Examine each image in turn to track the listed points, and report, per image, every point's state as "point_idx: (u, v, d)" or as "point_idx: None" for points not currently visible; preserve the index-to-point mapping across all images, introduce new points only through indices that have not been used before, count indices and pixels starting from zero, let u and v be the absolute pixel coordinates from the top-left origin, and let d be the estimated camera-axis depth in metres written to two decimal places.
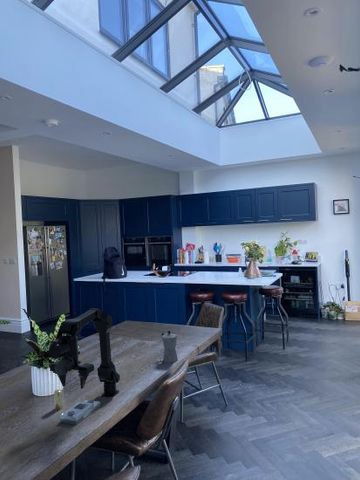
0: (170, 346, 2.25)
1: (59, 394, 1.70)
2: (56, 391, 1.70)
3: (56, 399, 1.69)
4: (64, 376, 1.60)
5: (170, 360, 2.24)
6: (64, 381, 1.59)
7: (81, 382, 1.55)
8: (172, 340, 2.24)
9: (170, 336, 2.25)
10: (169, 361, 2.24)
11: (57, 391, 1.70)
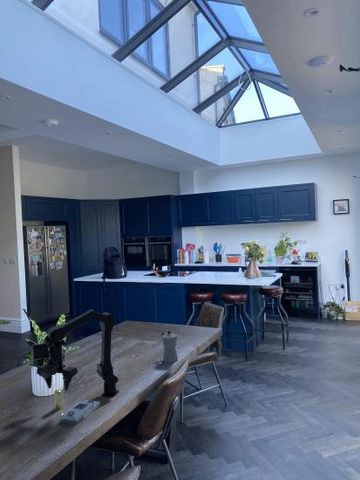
0: (170, 346, 2.25)
1: (59, 394, 1.70)
2: (56, 391, 1.70)
3: (56, 399, 1.69)
4: (50, 379, 1.73)
5: (170, 360, 2.24)
6: (50, 383, 1.73)
7: (65, 384, 1.68)
8: (172, 340, 2.24)
9: (170, 336, 2.25)
10: (169, 361, 2.24)
11: (57, 391, 1.70)
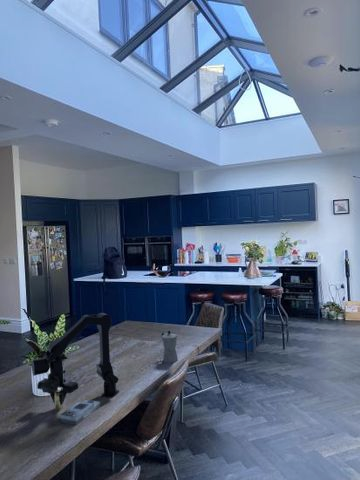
0: (170, 346, 2.25)
1: (59, 394, 1.70)
2: (56, 391, 1.70)
3: (56, 399, 1.69)
4: None
5: (170, 360, 2.24)
6: None
7: (61, 398, 1.69)
8: (172, 340, 2.24)
9: (170, 336, 2.25)
10: (169, 361, 2.24)
11: (57, 391, 1.70)
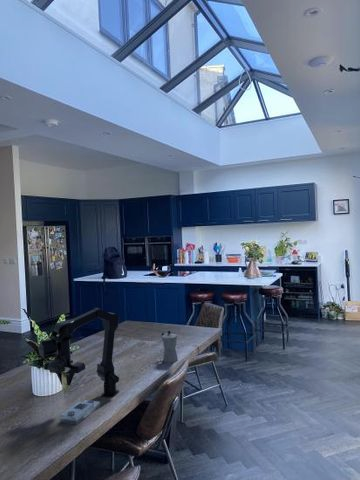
0: (170, 346, 2.25)
1: (66, 375, 1.67)
2: (63, 372, 1.68)
3: (63, 380, 1.67)
4: None
5: (170, 360, 2.24)
6: None
7: (68, 379, 1.67)
8: (172, 340, 2.24)
9: (170, 336, 2.25)
10: (169, 361, 2.24)
11: (64, 372, 1.68)
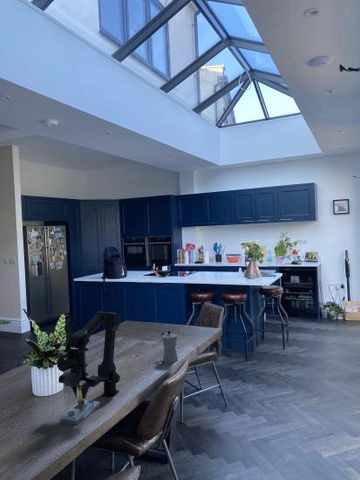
0: (170, 346, 2.25)
1: (81, 388, 1.64)
2: (78, 385, 1.65)
3: (78, 393, 1.63)
4: None
5: (170, 360, 2.24)
6: None
7: (83, 393, 1.63)
8: (172, 340, 2.24)
9: (170, 336, 2.25)
10: (169, 361, 2.24)
11: (79, 385, 1.65)
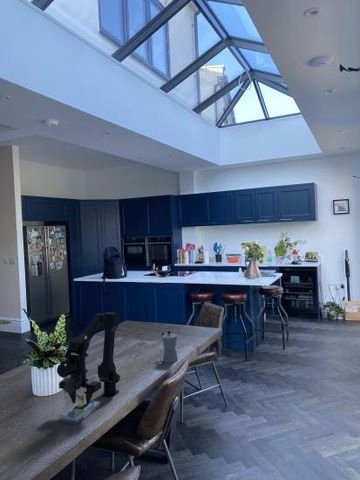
0: (170, 346, 2.25)
1: (82, 398, 1.64)
2: (79, 395, 1.65)
3: (79, 404, 1.64)
4: (74, 393, 1.67)
5: (170, 360, 2.24)
6: (74, 398, 1.67)
7: (87, 399, 1.63)
8: (172, 340, 2.24)
9: (170, 336, 2.25)
10: (169, 361, 2.24)
11: (80, 395, 1.65)
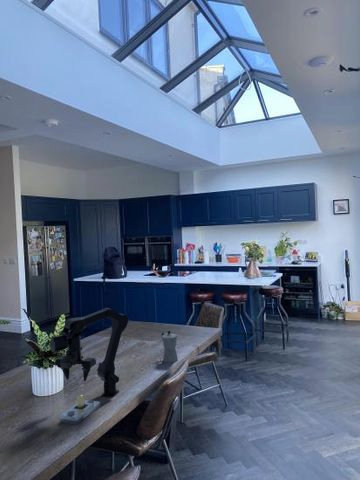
0: (170, 346, 2.25)
1: (82, 398, 1.64)
2: (79, 395, 1.65)
3: (79, 404, 1.64)
4: (68, 370, 1.75)
5: (170, 360, 2.24)
6: (68, 375, 1.74)
7: (84, 375, 1.70)
8: (172, 340, 2.24)
9: (170, 336, 2.25)
10: (169, 361, 2.24)
11: (80, 395, 1.65)
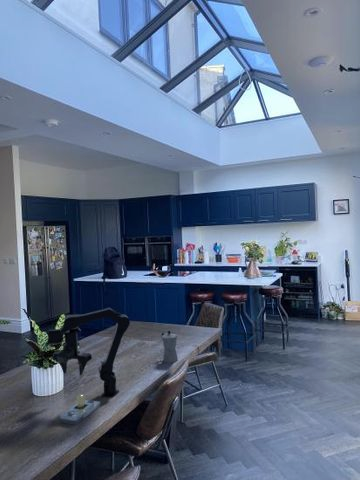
0: (170, 346, 2.25)
1: (82, 398, 1.64)
2: (79, 395, 1.65)
3: (79, 404, 1.64)
4: (65, 364, 1.82)
5: (170, 360, 2.24)
6: (65, 369, 1.81)
7: (80, 369, 1.77)
8: (172, 340, 2.24)
9: (170, 336, 2.25)
10: (169, 361, 2.24)
11: (80, 395, 1.65)
